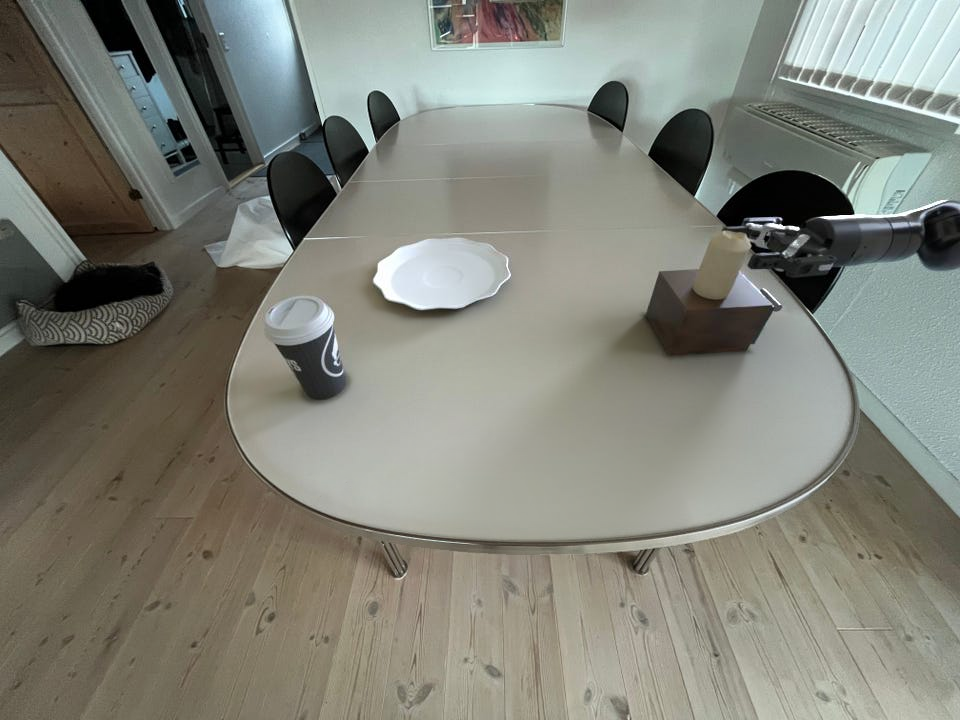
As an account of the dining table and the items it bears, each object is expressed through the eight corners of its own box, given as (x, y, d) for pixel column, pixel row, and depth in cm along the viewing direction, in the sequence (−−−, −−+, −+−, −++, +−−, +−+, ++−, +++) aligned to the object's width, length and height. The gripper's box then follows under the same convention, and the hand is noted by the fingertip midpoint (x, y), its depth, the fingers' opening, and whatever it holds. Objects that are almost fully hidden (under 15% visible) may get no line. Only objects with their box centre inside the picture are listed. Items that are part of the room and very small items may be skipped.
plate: (536, 288, 86) (537, 278, 84) (410, 337, 75) (408, 327, 73) (466, 235, 104) (466, 226, 103) (357, 269, 94) (355, 260, 92)
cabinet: (715, 310, 78) (734, 266, 72) (747, 350, 70) (773, 305, 63) (645, 314, 78) (659, 271, 71) (669, 355, 70) (687, 310, 63)
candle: (725, 283, 68) (751, 226, 61) (731, 302, 64) (759, 243, 57) (690, 279, 69) (711, 223, 62) (693, 297, 65) (716, 239, 58)
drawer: (744, 307, 77) (762, 271, 72) (776, 342, 70) (799, 305, 64) (659, 312, 77) (671, 276, 72) (682, 348, 69) (698, 311, 64)
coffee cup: (323, 358, 71) (294, 286, 61) (367, 374, 68) (344, 301, 58) (282, 395, 65) (242, 322, 55) (328, 415, 62) (295, 341, 52)
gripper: (822, 198, 64) (721, 204, 64) (894, 240, 54) (774, 247, 54) (798, 242, 69) (704, 247, 69) (859, 288, 59) (750, 294, 59)
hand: (735, 247), depth 61 cm, fingers open, 8 cm apart
